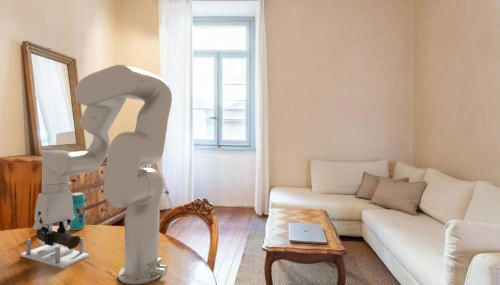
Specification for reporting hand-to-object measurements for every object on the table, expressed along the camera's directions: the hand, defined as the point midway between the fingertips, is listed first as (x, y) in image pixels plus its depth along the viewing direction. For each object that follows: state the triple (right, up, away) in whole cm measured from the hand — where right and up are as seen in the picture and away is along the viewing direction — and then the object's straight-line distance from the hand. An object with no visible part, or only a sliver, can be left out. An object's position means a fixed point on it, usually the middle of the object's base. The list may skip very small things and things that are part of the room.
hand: (55, 242), depth 94 cm
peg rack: (0, -5, 0) cm, 5 cm away
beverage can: (-9, -4, +27) cm, 28 cm away
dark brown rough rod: (0, -1, 0) cm, 1 cm away
